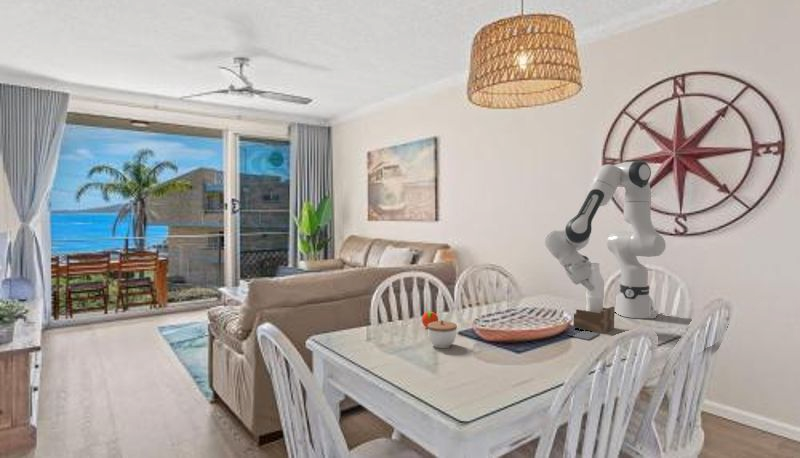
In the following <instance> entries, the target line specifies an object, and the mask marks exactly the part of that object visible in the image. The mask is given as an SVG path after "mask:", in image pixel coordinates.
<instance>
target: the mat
mask: <svg viewBox="0 0 800 458" xmlns="http://www.w3.org/2000/svg"><path fill="white" fill-rule="evenodd" d="M600 335H601V333H596V332H590V331H585V330H584V331H582V332H580V333H577V334H575V335H573V336H574V337H577V338H576V339H579V338H580V339H579V340H583V341H590V340H592V339H594V338H596V337H598V336H600ZM574 337H573V338H574Z"/></svg>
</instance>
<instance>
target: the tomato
mask: <svg viewBox="0 0 800 458" xmlns="http://www.w3.org/2000/svg"><path fill="white" fill-rule="evenodd" d="M436 321H439V317H438V314H437V313H435V312H434V311H426V312H425V313H424V314H422V317H421V322H422V324H423V326H424V327H425V328H426V329H428V327H427V325H428V324H429V323H431V322H436Z"/></svg>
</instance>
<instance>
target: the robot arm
mask: <svg viewBox="0 0 800 458" xmlns="http://www.w3.org/2000/svg"><path fill="white" fill-rule="evenodd" d="M651 175H652V171H651V168H650V166H649V164H648V163H647V162H645V161H643V160H642V161H641V160H634V161H623V162H620V163H615V164H604V165H602V166H600V168H599V169H598V170H597V171H596V173H595V174H594V176H593V177H592V179H591V180H590V182H589V185H588V186H587V190H586V193H585V198H584V199H585V200H584V202H583V204H582V205H581V208H580V209H579V210H578V213H577V214H576V215H575V216H574V217H573V218H571V219H570V220H569V221H568V222H567V224H566V226H565V229H562V230H553V231H551V232H550V233H549V234H547V236H546V238H545V241H544V244H545V247H546V249H547V250H548V251H549V252H550V254H551V255H552V256H553V257H554V258H555V259H556V260H558V262H559V264H560V265H561V267H563V269H564V270H565V273H566V276H567V277H568V278H569V280H571V282H572V283H573V284H575V286H577V285H580V284H581V285H582V286H583V287H584V288H585V289H586V288H587V289H588V290H589V291H592V290H593V289H594V287H593V286H592V285H590V284H589V283H588V281H587V279H589V275H590V273H591V263H592V262H591V261H590V259H589V257H588V256H587V255H583V254H581V253H579V251H580V250H582V249H583V248H585V247H587V245H588V244H589V241H590V237H591V233H592V222H593V219H594V217H595V216H596V214H597V212H598V210H599V208H600V207H604V206H606V205H608V204H609V202H610V201H611V199H612V198H613V196H614V195H615V193H616V191H617V188H623V187H624V189H625V190H624V191H625V193H624V200H623V216H622V217H623V219H624V221H626V222H627V224H630V225H631V226H632V228H633V231H617V232H612V233H611V234H610V235H609V236H608V238H607V240H606V246H607V249H608V250H609V252H611V253H612V254H613V255H614V256H615V258H616V259H617V262H618V263H619V267H620V284H619V292H620V293H618V294H616V298H615V300H616V301H615V308H614V312H616V313H617V314H616V313H615V314H616V315H618V314H619V315H618V316H620V315H621V317H625V318H631V319H654V318H655V319H657V317H658V314H659V310H657V309H654V300H653V299H652V297H651V295H650V289H651V287H650V285H649V283H648V282H649V281H648V280H649V277H648V276H649V271H648V268H647V267H646V266H645V265H643V264H642V263H641V262H640V261H639V260H638V257H646V258H650V257H660V256H661V255H662V254H663V253H664V252H665V250H666V246H667V245H666V240H665V239H664V237H663V236H662V234H660V233H659V232H657V230H656V229H655V227H654V225H653V222H652V218H651V215H652V213H651V212H652V211H651V210H652V209H651V208H652V207H651V206H652V205H651V204H652V193H651V185H650V182H649V181H650V179H651ZM656 316H657V317H656Z"/></svg>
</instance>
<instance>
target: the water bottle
mask: <svg viewBox="0 0 800 458" xmlns="http://www.w3.org/2000/svg"><path fill="white" fill-rule="evenodd" d="M600 270H601V268H600V263H599V262H598V263H597V262H591V273H590V275H589V279H587V281H588V283H589V284H590V285H592V286H593V287H594V289H593V290H592V291H589V290H588V289H587V288H586V287H585V299H586V308H585V310H586V311H591V312H597V313H601V311H603V308H604V299H605V281H604V278H603V276H602V274H601V272H600Z"/></svg>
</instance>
